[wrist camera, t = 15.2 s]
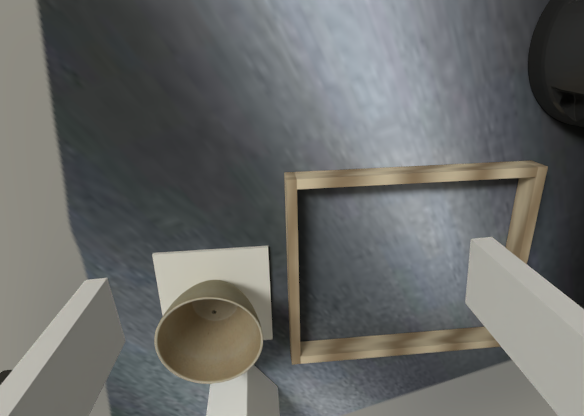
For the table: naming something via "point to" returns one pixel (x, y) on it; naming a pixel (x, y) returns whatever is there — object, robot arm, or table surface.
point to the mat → (218, 276)
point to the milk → (244, 396)
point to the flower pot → (209, 334)
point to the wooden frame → (523, 206)
